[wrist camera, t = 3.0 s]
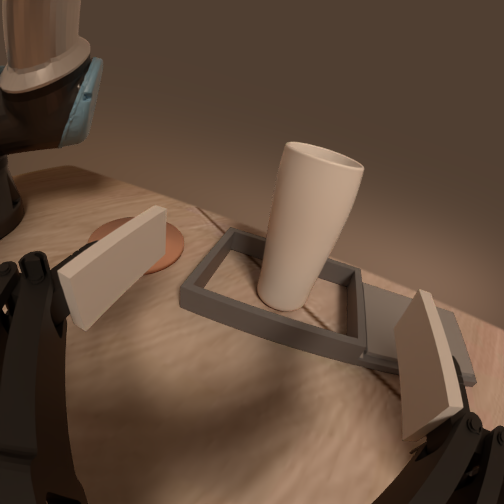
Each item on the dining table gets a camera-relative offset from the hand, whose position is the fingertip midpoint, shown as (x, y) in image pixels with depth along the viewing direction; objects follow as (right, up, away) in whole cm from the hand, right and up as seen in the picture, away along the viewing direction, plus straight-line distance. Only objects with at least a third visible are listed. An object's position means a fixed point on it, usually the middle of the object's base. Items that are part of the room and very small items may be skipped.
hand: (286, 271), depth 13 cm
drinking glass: (+1, -4, +15) cm, 16 cm away
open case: (+9, -6, +14) cm, 18 cm away
